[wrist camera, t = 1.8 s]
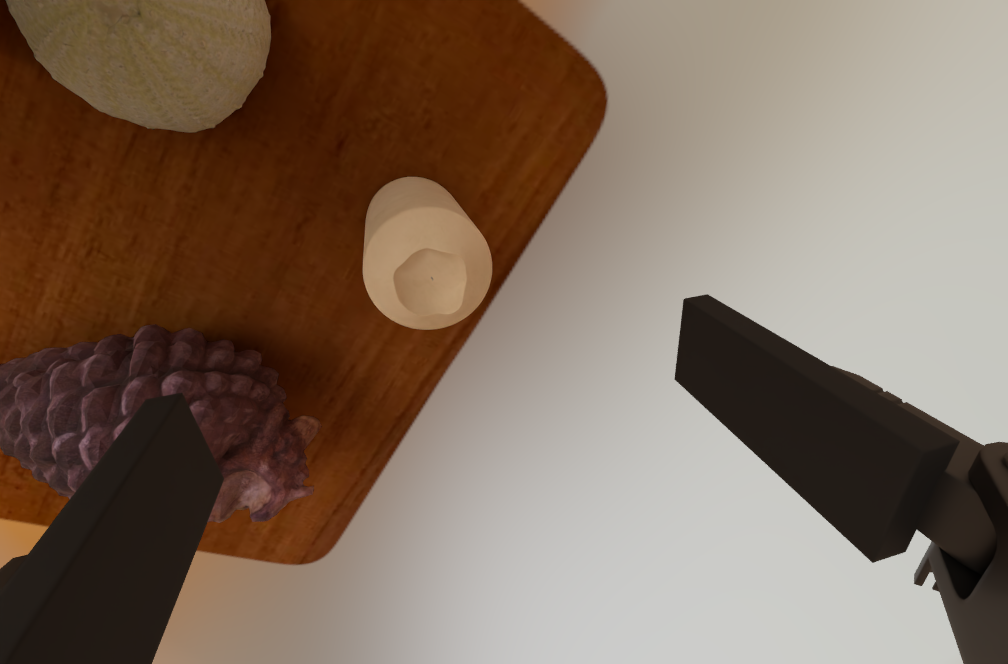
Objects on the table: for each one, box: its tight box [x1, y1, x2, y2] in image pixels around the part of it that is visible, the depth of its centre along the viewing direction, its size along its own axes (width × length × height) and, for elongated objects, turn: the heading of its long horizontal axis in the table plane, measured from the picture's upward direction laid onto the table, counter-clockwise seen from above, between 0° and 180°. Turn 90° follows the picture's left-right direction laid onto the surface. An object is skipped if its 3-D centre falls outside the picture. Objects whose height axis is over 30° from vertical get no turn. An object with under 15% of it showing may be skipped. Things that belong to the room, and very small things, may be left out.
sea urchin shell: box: [6, 0, 271, 133], centre depth 19 cm, size 9×8×8 cm
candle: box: [363, 177, 492, 330], centre depth 23 cm, size 6×6×10 cm
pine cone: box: [0, 324, 322, 523], centre depth 24 cm, size 18×10×10 cm
